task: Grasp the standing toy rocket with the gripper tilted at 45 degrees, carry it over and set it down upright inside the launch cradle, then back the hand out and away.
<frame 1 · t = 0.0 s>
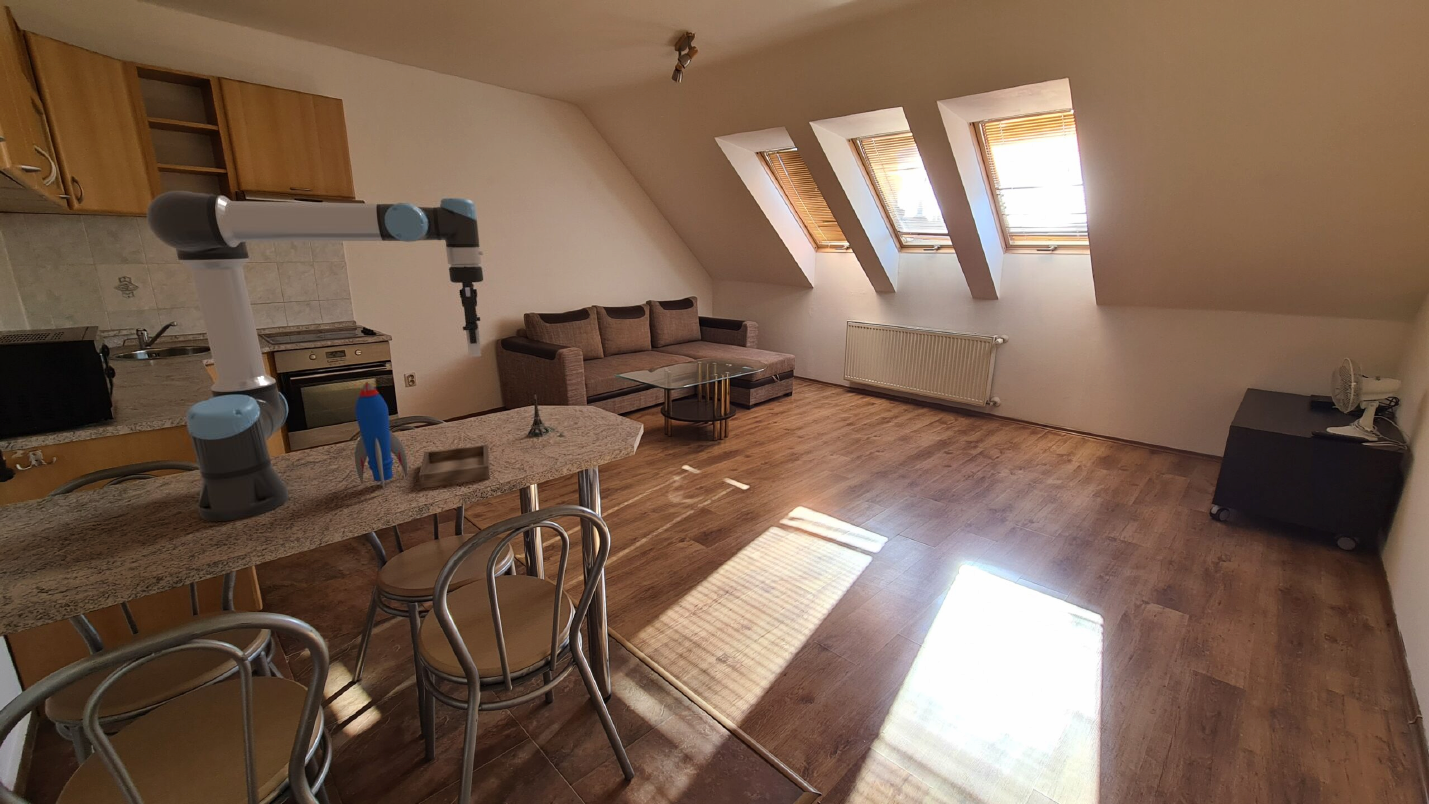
hand: (475, 351, 147), 28 cm above the countertop, tool pointing down, fingers open, 13 cm apart
eiffel tower figurine: (540, 435, 172), on the countertop
launch cradle: (457, 471, 144), on the countertop
toy rocket: (378, 485, 136), on the countertop
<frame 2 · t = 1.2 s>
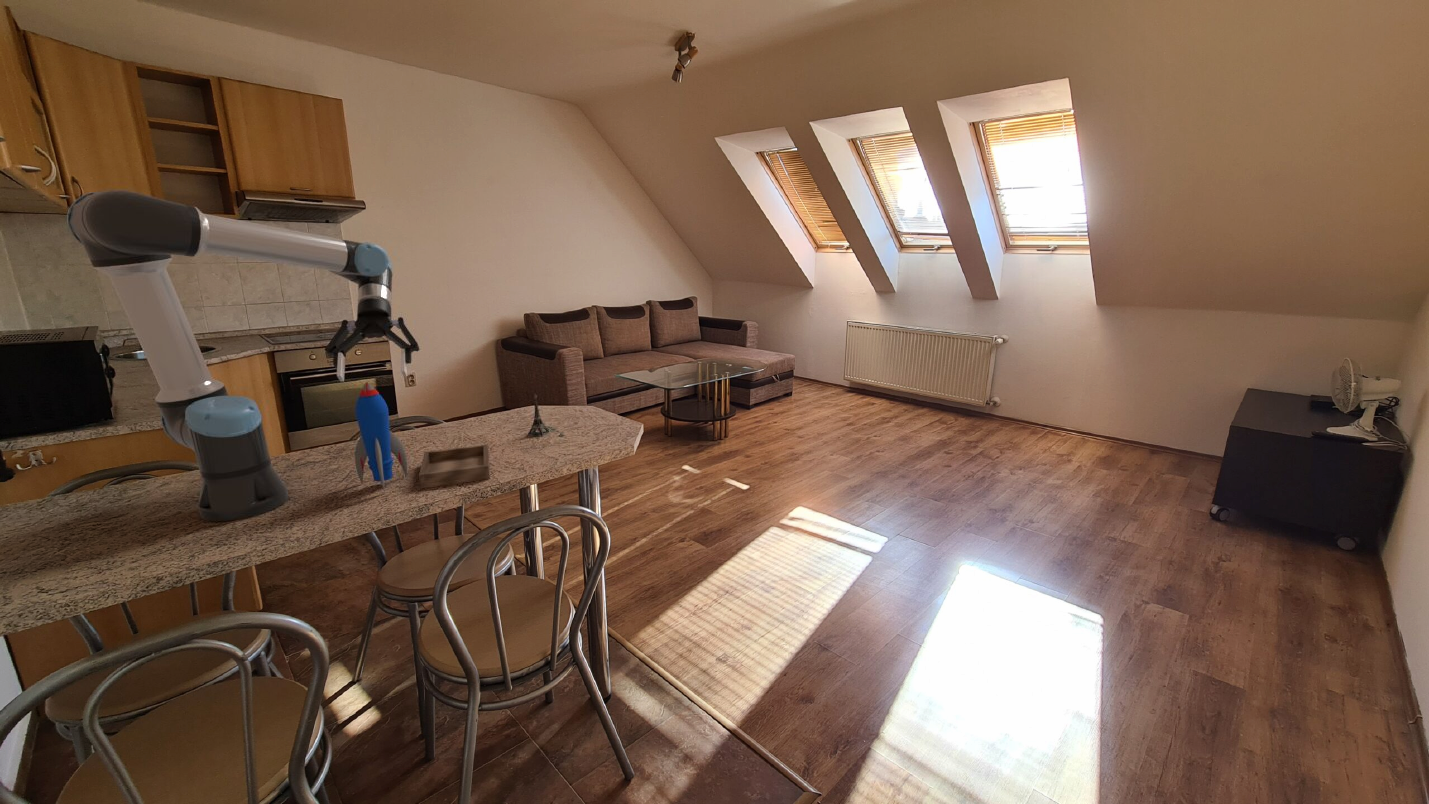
hand: (372, 376, 140), 24 cm above the countertop, tool tilted 45°, fingers open, 13 cm apart
nothing on the countertop moved.
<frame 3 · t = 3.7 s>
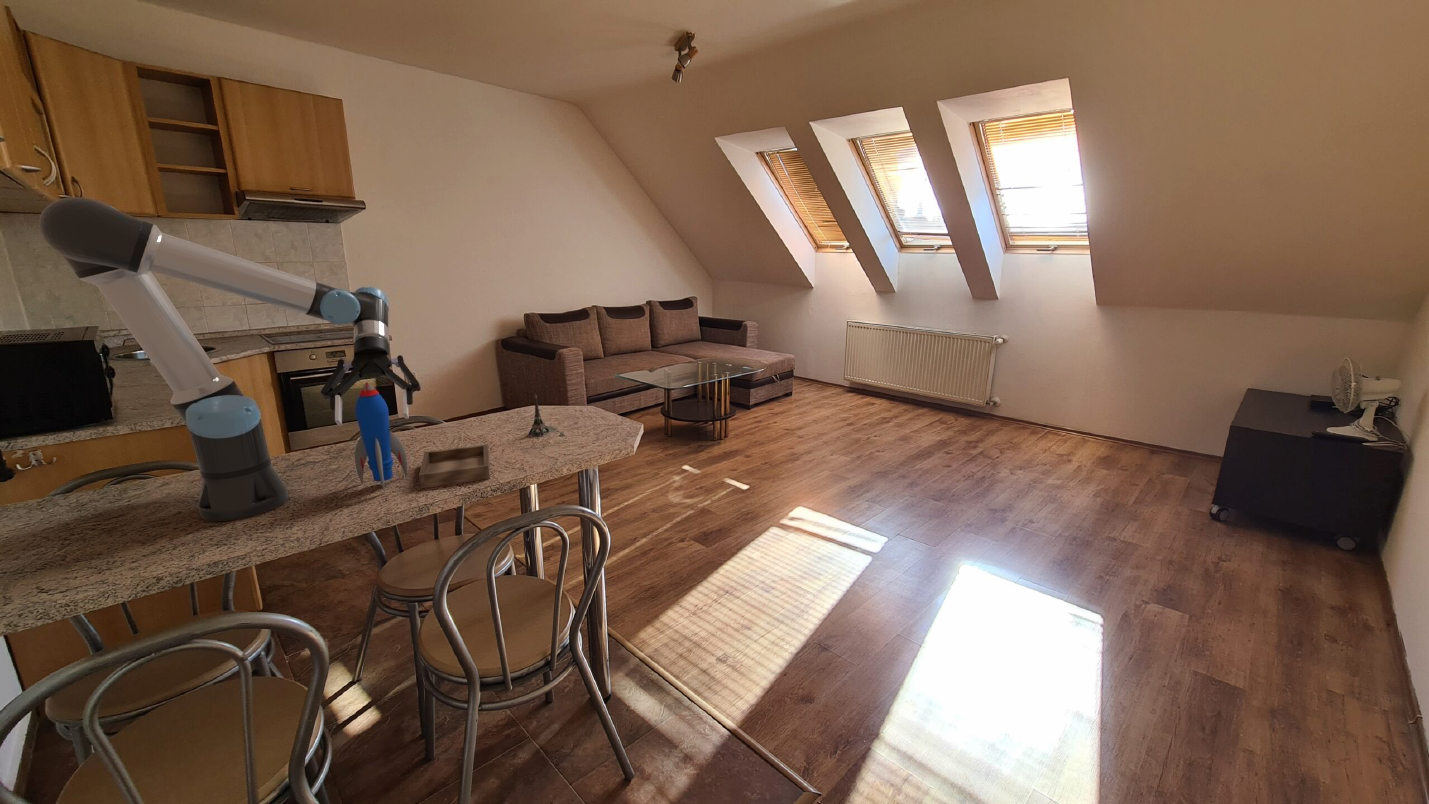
hand: (372, 419, 133), 16 cm above the countertop, tool tilted 45°, fingers open, 13 cm apart
nothing on the countertop moved.
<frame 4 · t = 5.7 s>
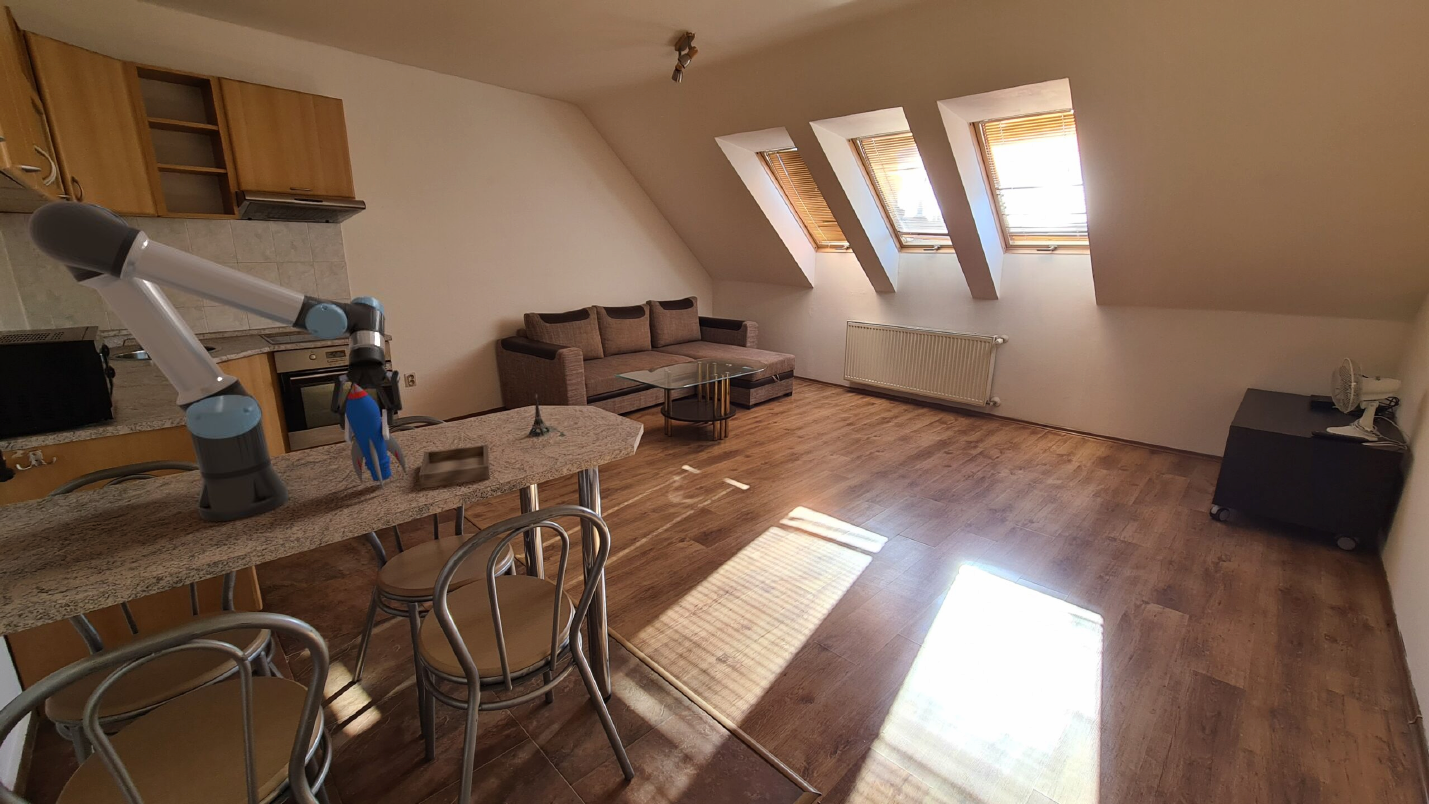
hand: (367, 439, 130), 13 cm above the countertop, tool tilted 45°, fingers closed on toy rocket, 7 cm apart
toy rocket: (378, 484, 136), on the countertop, touching gripper
everything else where it was.
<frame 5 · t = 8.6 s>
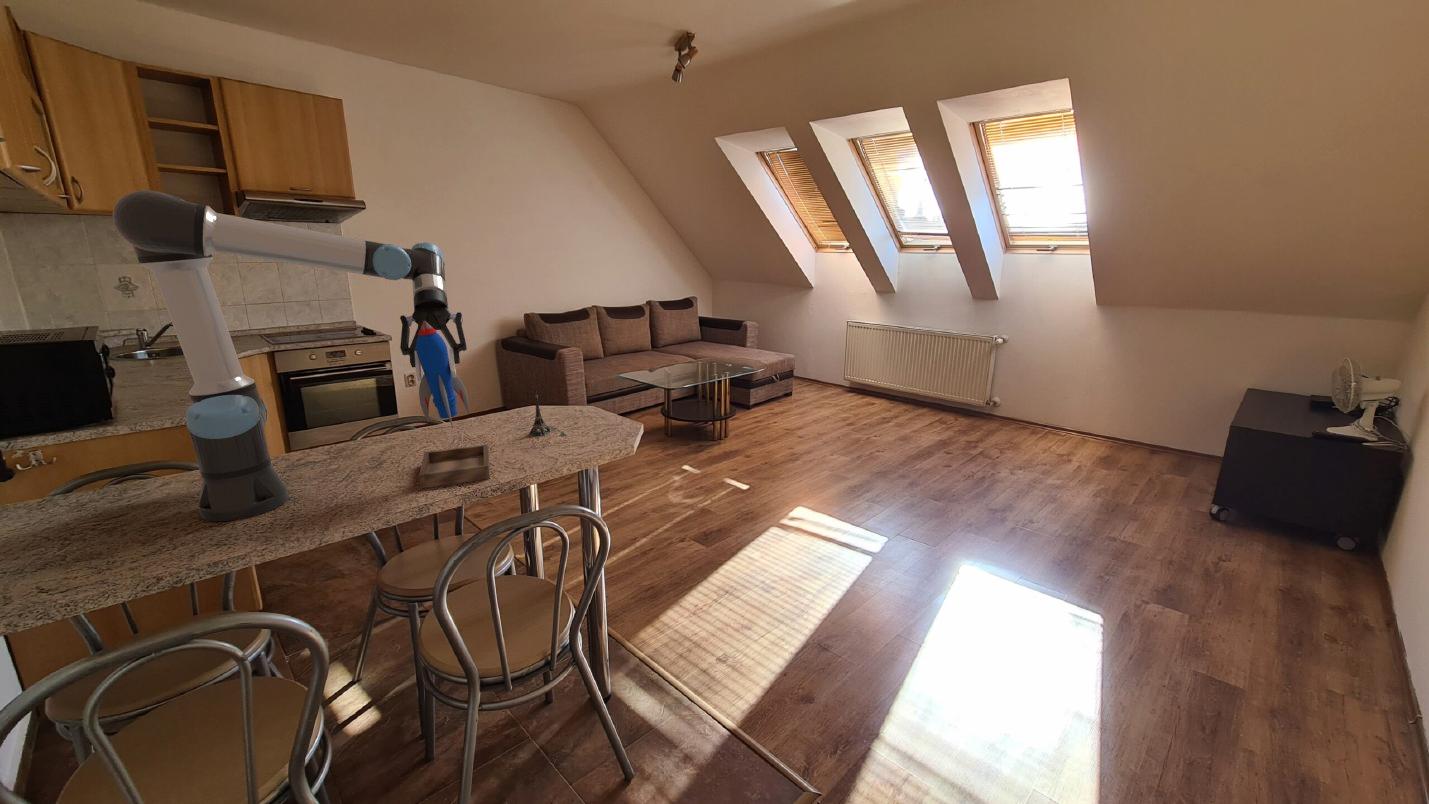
hand: (436, 376, 133), 25 cm above the countertop, tool tilted 45°, fingers closed on toy rocket, 7 cm apart
toy rocket: (444, 422, 140), point 13 cm above the countertop, touching gripper
everything else where it was.
when the fingers open (14 cm above the countertop, at t = 11.4 s): toy rocket drops 1 cm, resting on launch cradle.
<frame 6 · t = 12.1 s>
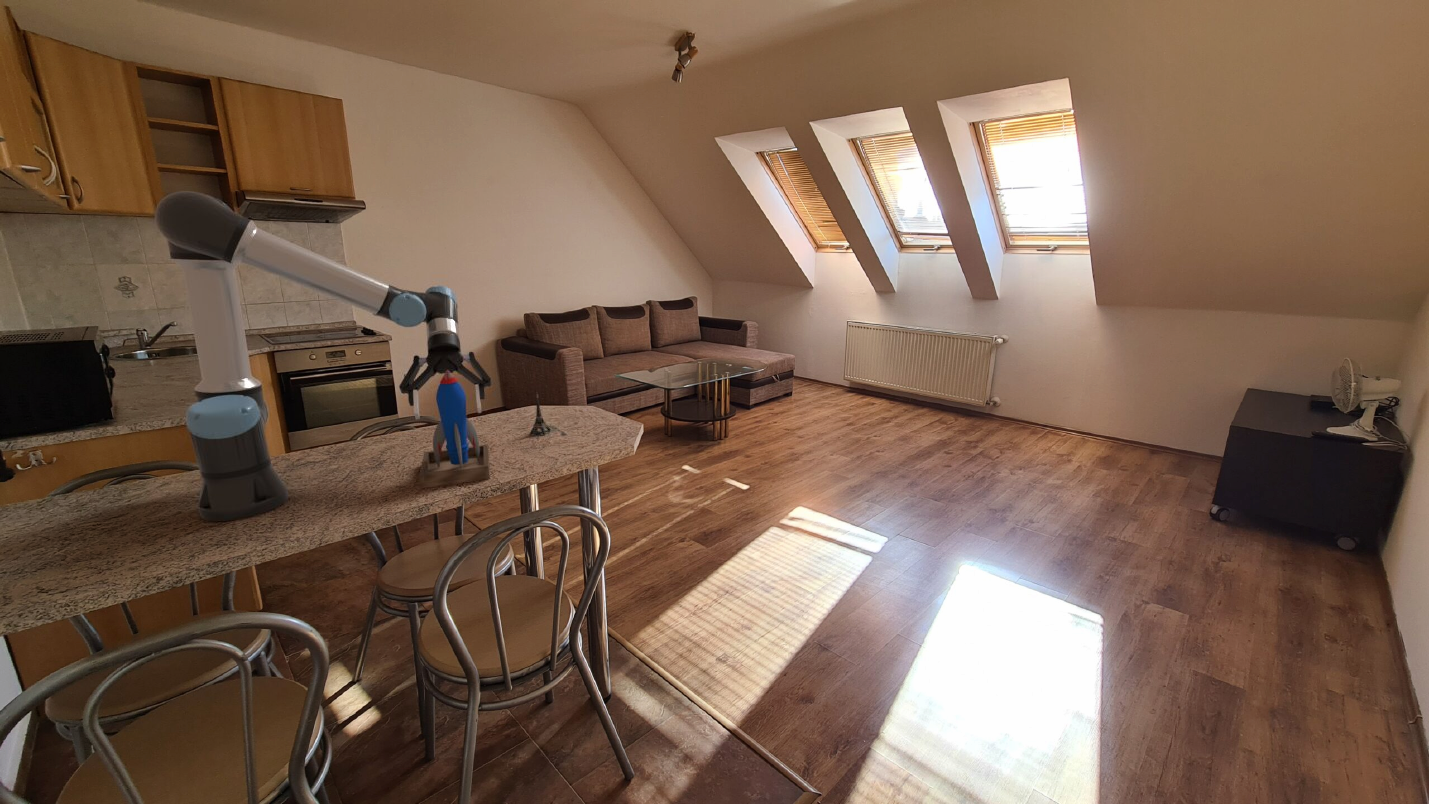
hand: (448, 413, 138), 16 cm above the countertop, tool tilted 45°, fingers open, 13 cm apart
toy rocket: (454, 468, 144), point 1 cm above the countertop, touching launch cradle
everything else where it was.
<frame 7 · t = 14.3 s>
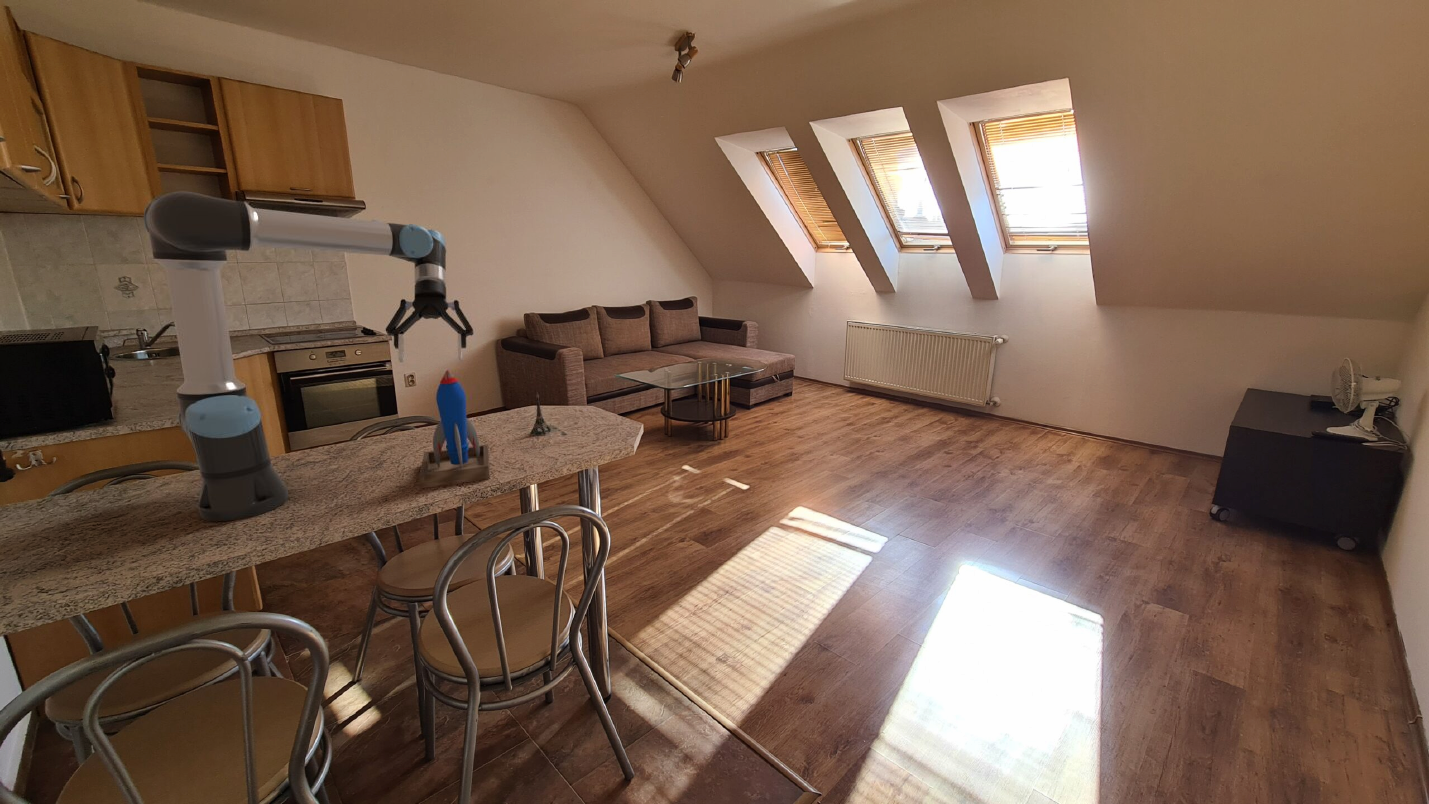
hand: (431, 359, 147), 26 cm above the countertop, tool tilted 35°, fingers open, 13 cm apart
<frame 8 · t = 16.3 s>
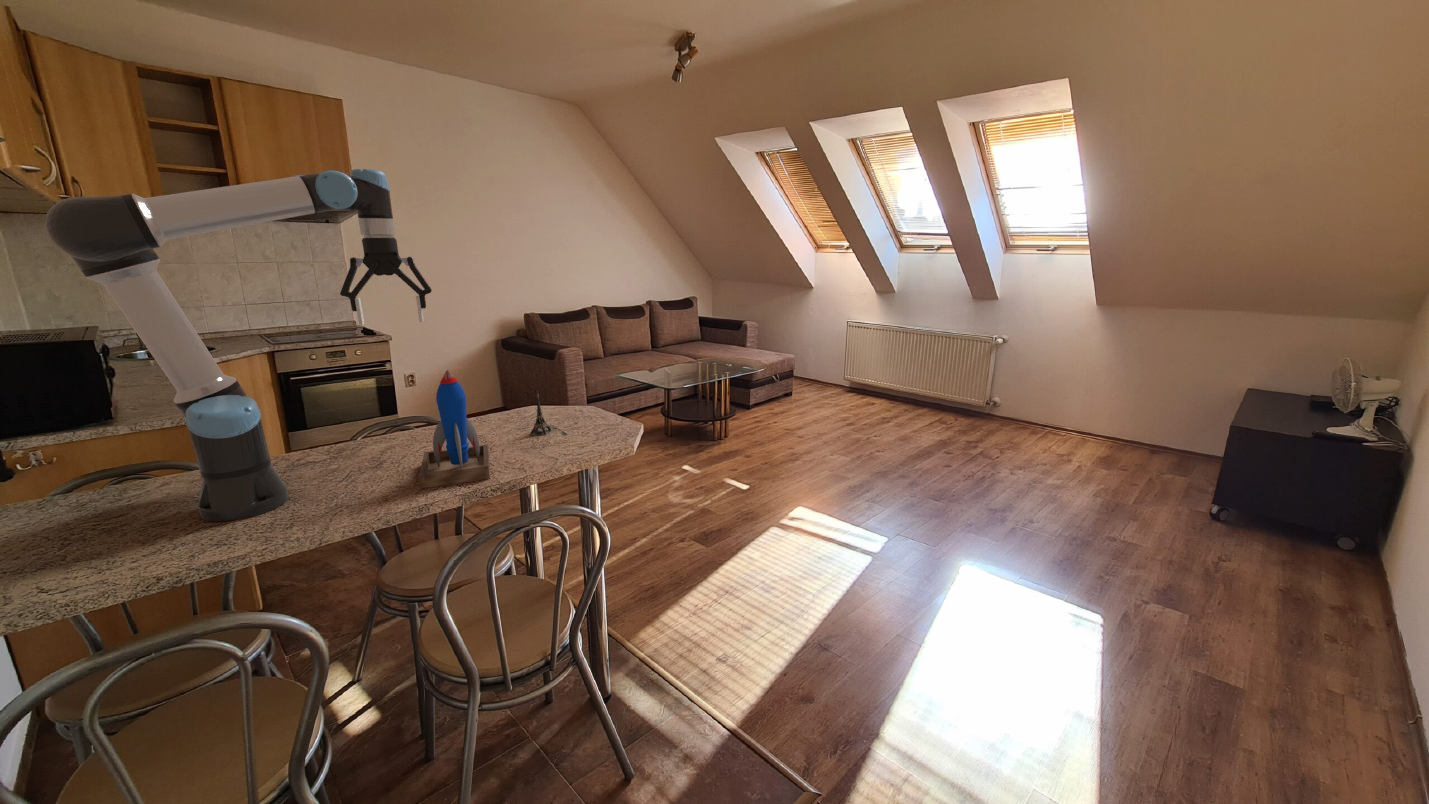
hand: (392, 322, 149), 35 cm above the countertop, tool pointing down, fingers open, 13 cm apart
at the end: toy rocket inside the target area on the launch cradle (0.6 cm from its centre), point 0.6 cm above the launch cradle's base; toy rocket tilted 0°; the gripper is holding nothing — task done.
